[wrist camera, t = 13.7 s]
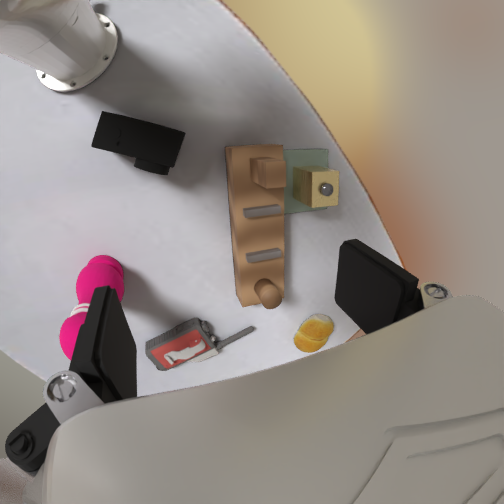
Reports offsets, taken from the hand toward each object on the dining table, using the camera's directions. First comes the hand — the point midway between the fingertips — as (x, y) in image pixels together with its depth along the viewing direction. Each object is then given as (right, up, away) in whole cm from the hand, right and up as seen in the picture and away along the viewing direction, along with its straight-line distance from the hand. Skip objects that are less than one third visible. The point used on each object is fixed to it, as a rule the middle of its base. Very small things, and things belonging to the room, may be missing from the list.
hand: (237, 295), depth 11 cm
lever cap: (+9, +13, +32) cm, 35 cm away
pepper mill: (-22, -2, +28) cm, 36 cm away
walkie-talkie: (-10, -14, +38) cm, 42 cm away
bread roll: (+13, -15, +46) cm, 50 cm away
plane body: (+1, +6, +32) cm, 33 cm away
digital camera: (-14, +16, +23) cm, 31 cm away
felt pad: (+9, +13, +32) cm, 36 cm away
